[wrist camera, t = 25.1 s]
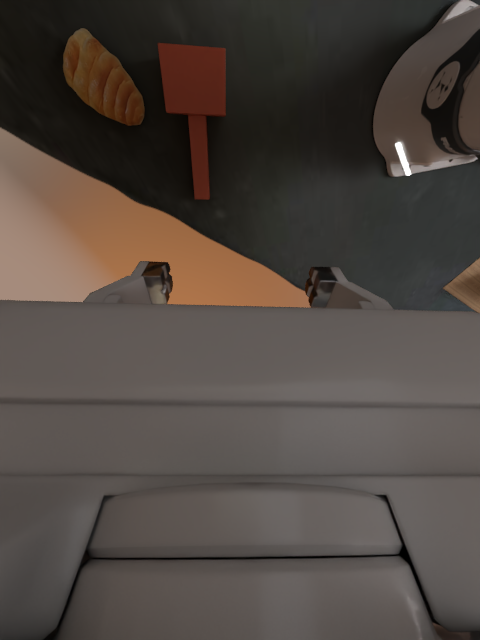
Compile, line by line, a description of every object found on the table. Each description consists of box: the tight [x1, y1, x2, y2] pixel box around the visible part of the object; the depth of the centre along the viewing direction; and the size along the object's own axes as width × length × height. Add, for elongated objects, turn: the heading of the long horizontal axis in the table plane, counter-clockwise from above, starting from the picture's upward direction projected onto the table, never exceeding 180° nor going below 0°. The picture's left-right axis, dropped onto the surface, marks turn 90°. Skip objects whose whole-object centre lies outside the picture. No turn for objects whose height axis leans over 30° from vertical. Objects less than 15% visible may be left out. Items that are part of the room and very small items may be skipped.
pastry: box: [63, 28, 145, 126], centre depth 29 cm, size 9×7×4 cm
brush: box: [158, 43, 226, 199], centre depth 33 cm, size 8×17×4 cm, turn 178°
